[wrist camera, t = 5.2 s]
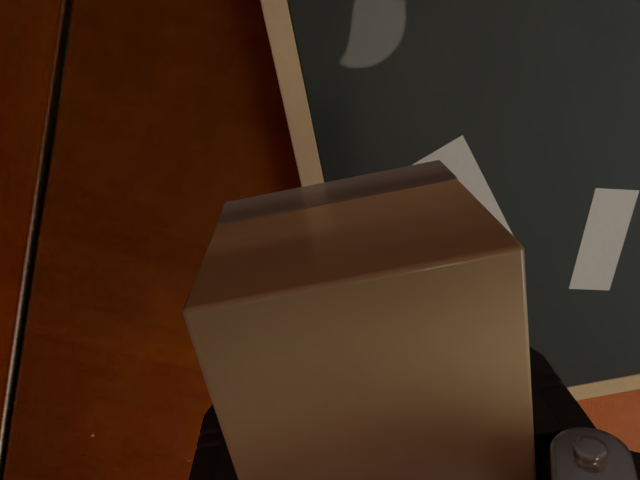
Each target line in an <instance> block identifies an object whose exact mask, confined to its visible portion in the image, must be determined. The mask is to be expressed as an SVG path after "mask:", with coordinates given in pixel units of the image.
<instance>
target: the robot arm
mask: <svg viewBox="0 0 640 480" xmlns="http://www.w3.org/2000/svg"><path fill="white" fill-rule="evenodd" d="M529 350H530V369H531V389H532V408H533V427H534V447H535V466H536V480H640V453H637V452H633V451H630V450H629V449H628V448H627V446H626V445H625V444H624V443H623V442H622V441H620V440H619V439H618V438H616V437H615V436H613V435H611V434H609V433H607V432H605V431H602V430H598V429H596V427H595V426H594V425H593V423H592V422H591V421H590V419H589V418H588V416H587V415H586V414H585V412H584V411H583V409H582V408H581V407H580V405H579V404H578V403H577V401H576V400H575V398H574V397H573V396H572V394H571V393H570V391H569V390H568V389H567V387H566V386H565V385H563V383H562V380H561V379H560V378H559V376H558V375H557V373H556V372H554V369H553V368H552V367H551V365H550V364H549V362H548V361H547V360H546V358H545V357H544V355H542V354H541V353H539V352H538V351H536V350H534V349H533V348H531V347H529ZM200 434H201V435H200V436H199V439H198V444H197V449H196V452H195V456H194V460H193V465H192V469H191V473H190V477H189V480H238V477H237V474H236V471H235V468H234V465H233V462H232V460H231V457H230V454H229V451H228V448H227V445H226V442H225V439H224V436H223V433H222V430H221V427H220V424H219V421H218V418H217V415H216V412H215V409H214V406H213V404H212V406H211V407H210V408H209V410H208V411H207V412H206V414H205V415H204V418H203V422H202V427H201V431H200Z"/></svg>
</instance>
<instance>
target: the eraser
mask: <svg viewBox="0 0 640 480" xmlns="http://www.w3.org/2000/svg"><path fill="white" fill-rule="evenodd" d="M182 314H183V317H184V320H185V323H186V326H187V329H188V332H189V335H190V338H191V341H192V344H193V347H194V350H195V353H196V356H197V359H198V361H199V364H200V367H201V370H202V373H203V376H204V379H205V382H206V385H207V388H208V391H209V394H210V397H211V400H212V403H213V406H214V409H215V412H216V415H217V418H218V421H219V424H220V427H221V430H222V433H223V436H224V439H225V442H226V445H227V448H228V451H229V454H230V457H231V460H232V462H233V465H234V468H235V471H236V474H237V477H238V480H536V466H535V447H534V427H533V408H532V389H531V369H530V350H529V331H528V311H527V292H526V273H525V253H524V248H523V246H522V244H521V243H520V242H519V241H518V240H517V239H516V238H515V237H514V236H513V235H512V234H511V233H510V232H509V231H508V230H507V229H506V228H505V227H504V226H503V225H502V224H501V223H500V222H499V221H498V220H497V219H496V218H495V217H494V216H493V215H492V214H491V213H490V212H489V211H488V210H487V209H486V208H485V207H484V206H483V205H482V204H481V203H480V202H479V201H478V200H477V199H476V198H475V196H474V195H473V194H472V193H471V192H470V191H469V190H468V189H467V188H466V187H465V186H464V185H463V184H462V183H461V182H460V181H459V180H458V178H457V177H456V176H455V175H454V174H453V173H452V172H451V171H450V170H449V169H448V168H447V167H446V166H445V165H444V164H443V163H442V162H441V161H440V160H436V161H431V162H426V163H421V164H416V165H411V166H406V167H401V168H396V169H391V170H385V171H380V172H375V173H370V174H365V175H360V176H355V177H350V178H345V179H340V180H335V181H330V182H325V183H320V184H314V185H309V186H304V187H299V188H294V189H289V190H284V191H279V192H274V193H269V194H264V195H259V196H254V197H249V198H243V199H238V200H233V201H228V202H225V203H224V206H223V208H222V211H221V213H220V216H219V218H218V221H217V223H216V228H215V230H214V233H213V235H212V238H211V240H210V243H209V245H208V248H207V250H206V253H205V255H204V258H203V260H202V263H201V265H200V268H199V270H198V273H197V275H196V278H195V280H194V283H193V285H192V288H191V290H190V293H189V295H188V298H187V300H186V303H185V305H184V308H183V313H182Z"/></svg>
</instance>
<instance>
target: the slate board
mask: <svg viewBox="0 0 640 480" xmlns="http://www.w3.org/2000/svg"><path fill="white" fill-rule="evenodd" d="M260 2H261V7H262V11H263V16H264V20H265V25H266V29H267V34H268V38H269V43H270V47H271V52H272V56H273V61H274V65H275V69H276V74H277V78H278V83H279V87H280V92H281V96H282V101H283V105H284V110H285V114H286V119H287V123H288V128H289V132H290V137H291V141H292V146H293V150H294V155H295V159H296V164H297V168H298V173H299V177H300V182H301V186H302V187H304V186H309V185H314V184H320V183H325V182H330V181H335V180H340V179H345V178H350V177H355V176H360V175H365V174H370V173H375V172H380V171H385V170H391V169H396V168H401V167H406V166H411V165H416V164H421V163H426V162H431V161H436V160H440V161H441V162H442V163H443V164H444V165H445V166H446V167H447V168H448V169H449V170H450V171H451V172H452V173H453V174H454V175H455V176H456V177H457V178H458V180H459V181H460V182H461V183H462V184H463V185H464V186H465V187H466V188H467V189H468V190H469V191H470V192H471V193H472V194H473V195H474V196H475V198H476V199H477V200H478V201H479V202H480V203H481V204H482V205H483V206H484V207H485V208H486V209H487V210H488V211H489V212H490V213H491V214H492V215H493V216H494V217H495V218H496V219H497V220H498V221H499V222H500V223H501V224H502V225H503V226H504V227H505V228H506V229H507V230H508V231H509V232H510V233H511V234H512V235H513V236H514V237H515V238H516V239H517V240H518V241H519V242H520V243H521V244H522V246H523V248H524V253H525V273H526V292H527V311H528V331H529V347H531V348H533V349H534V350H536V351H538V352H539V353H541V354H542V355H544V357H545V358H546V360H547V361H548V362H549V364H550V365H551V367H552V368H553V369H554V372H556V373H557V375H558V376H559V378H560V379H561V380H562V383H563V385H565V386H566V387H567V389H568V390H569V391H570V393H571V394H572V396H573V397H574V398H575V400H582V399H587V398H593V397H598V396H604V395H609V394H615V393H620V392H626V391H631V390H637V389H640V0H260Z"/></svg>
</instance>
